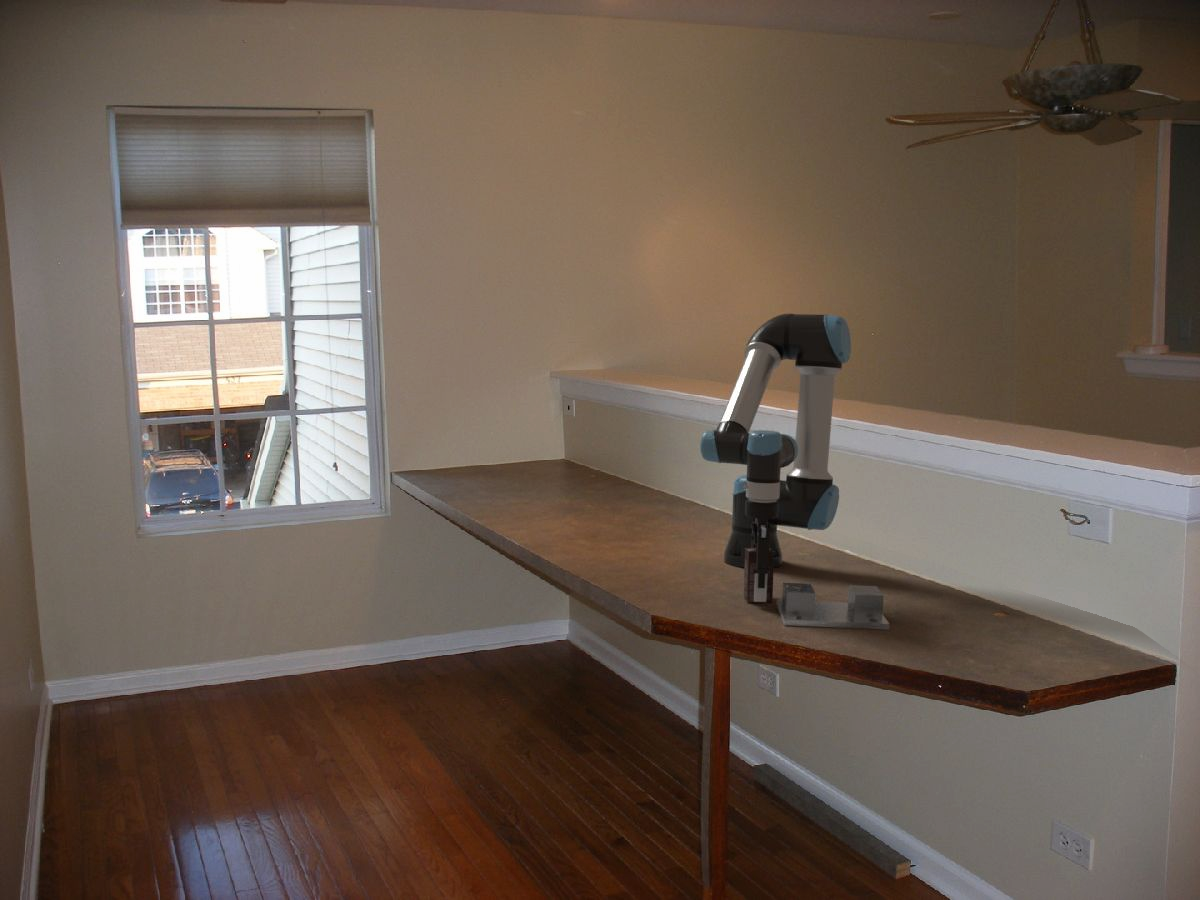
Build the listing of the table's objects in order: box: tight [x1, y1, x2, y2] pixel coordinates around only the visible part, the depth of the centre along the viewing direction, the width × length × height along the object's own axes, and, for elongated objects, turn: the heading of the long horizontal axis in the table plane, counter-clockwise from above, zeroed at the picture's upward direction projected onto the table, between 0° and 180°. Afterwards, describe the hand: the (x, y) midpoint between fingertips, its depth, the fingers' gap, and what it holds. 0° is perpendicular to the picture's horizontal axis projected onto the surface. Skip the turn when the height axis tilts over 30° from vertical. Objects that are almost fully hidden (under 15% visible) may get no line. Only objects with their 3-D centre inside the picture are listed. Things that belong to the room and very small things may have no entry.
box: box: [743, 548, 775, 604], centre depth 262 cm, size 6×4×12 cm
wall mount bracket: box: [776, 582, 890, 630], centre depth 250 cm, size 16×22×6 cm
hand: (757, 594), depth 262 cm, fingers open, 10 cm apart
